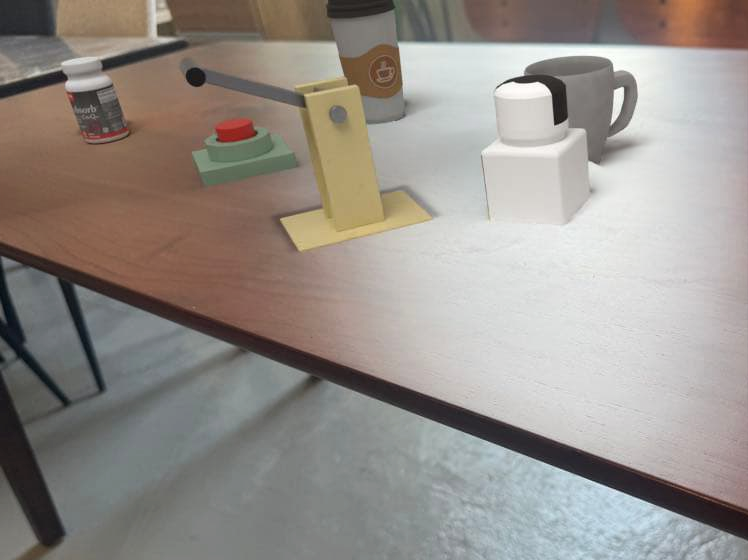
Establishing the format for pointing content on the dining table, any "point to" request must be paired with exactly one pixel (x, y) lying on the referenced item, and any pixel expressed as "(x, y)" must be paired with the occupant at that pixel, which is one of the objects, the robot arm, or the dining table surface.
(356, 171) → the lever bracket
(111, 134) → the pill bottle
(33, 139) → the dining table surface
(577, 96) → the mug
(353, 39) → the coffee cup
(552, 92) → the medicine bottle
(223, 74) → the lever
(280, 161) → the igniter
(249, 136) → the button
